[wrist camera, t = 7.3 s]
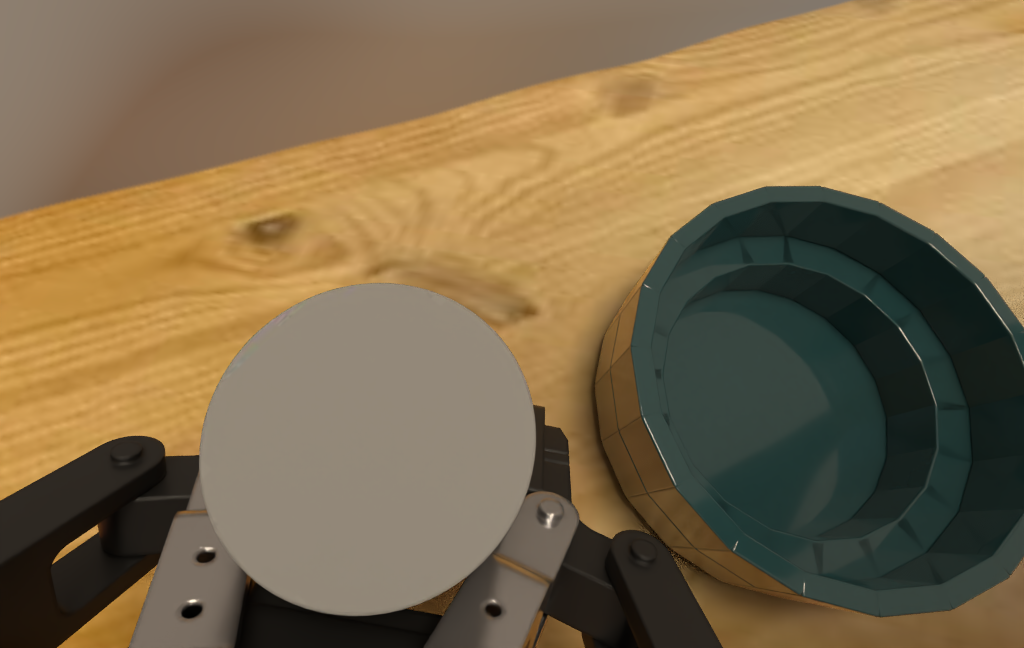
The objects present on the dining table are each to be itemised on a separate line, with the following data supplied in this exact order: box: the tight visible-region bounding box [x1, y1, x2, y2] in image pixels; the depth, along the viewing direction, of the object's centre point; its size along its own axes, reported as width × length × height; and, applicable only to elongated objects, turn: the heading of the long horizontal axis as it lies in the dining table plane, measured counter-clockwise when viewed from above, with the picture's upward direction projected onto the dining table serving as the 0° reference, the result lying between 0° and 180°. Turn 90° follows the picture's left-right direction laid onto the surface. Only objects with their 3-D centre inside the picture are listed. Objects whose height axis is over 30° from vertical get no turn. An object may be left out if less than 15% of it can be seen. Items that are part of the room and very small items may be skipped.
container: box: [199, 283, 536, 616], centre depth 14 cm, size 5×5×15 cm
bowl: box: [595, 186, 1024, 617], centre depth 21 cm, size 14×14×6 cm
